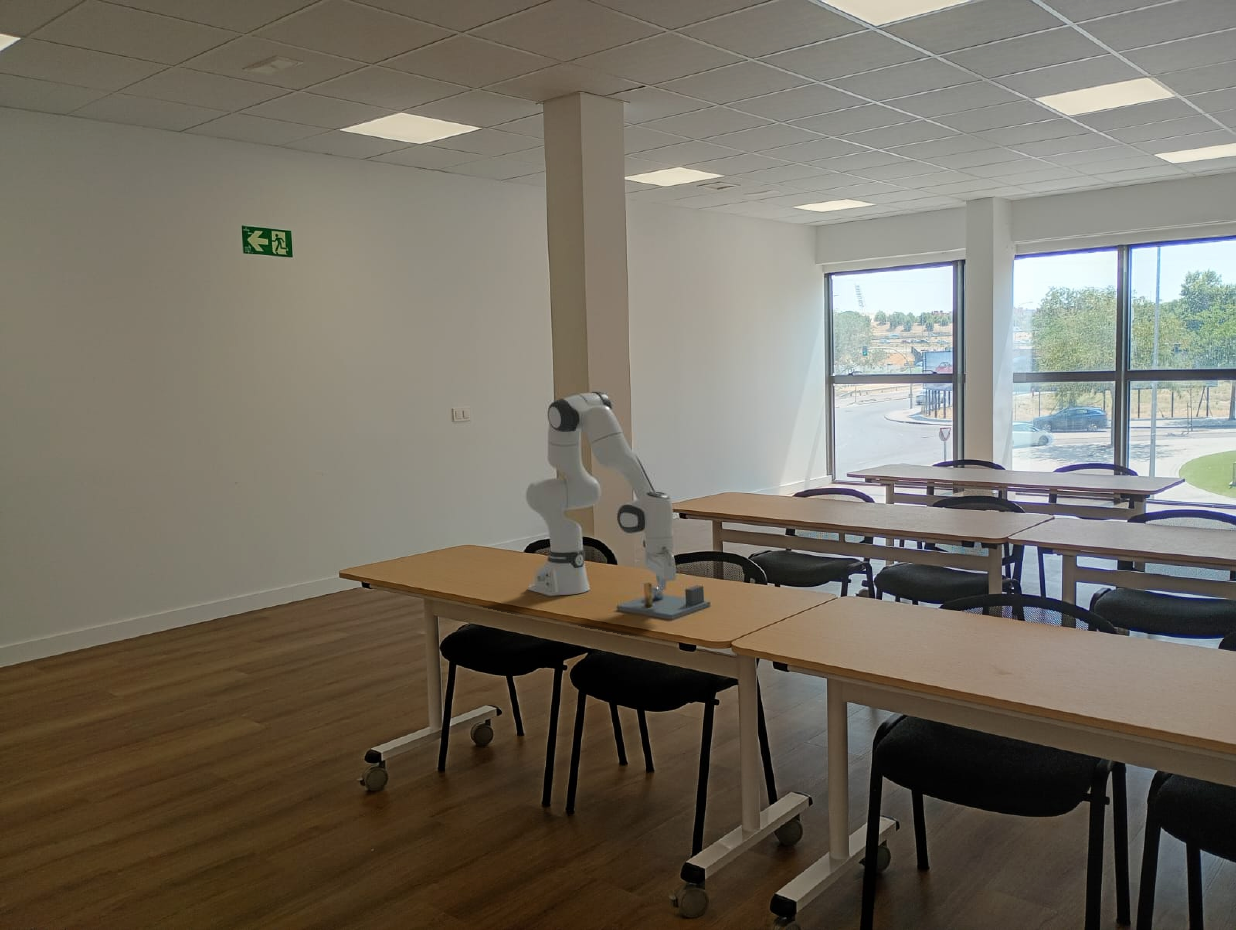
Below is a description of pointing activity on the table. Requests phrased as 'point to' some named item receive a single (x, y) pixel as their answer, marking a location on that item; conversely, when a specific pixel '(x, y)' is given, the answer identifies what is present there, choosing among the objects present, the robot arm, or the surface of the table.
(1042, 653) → the table surface
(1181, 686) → the table surface
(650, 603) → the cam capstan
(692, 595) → the stand
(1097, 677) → the table surface
